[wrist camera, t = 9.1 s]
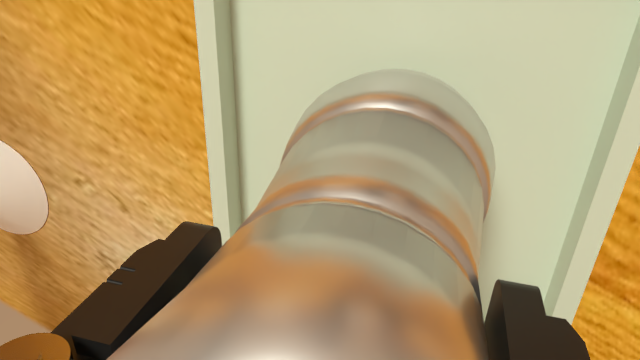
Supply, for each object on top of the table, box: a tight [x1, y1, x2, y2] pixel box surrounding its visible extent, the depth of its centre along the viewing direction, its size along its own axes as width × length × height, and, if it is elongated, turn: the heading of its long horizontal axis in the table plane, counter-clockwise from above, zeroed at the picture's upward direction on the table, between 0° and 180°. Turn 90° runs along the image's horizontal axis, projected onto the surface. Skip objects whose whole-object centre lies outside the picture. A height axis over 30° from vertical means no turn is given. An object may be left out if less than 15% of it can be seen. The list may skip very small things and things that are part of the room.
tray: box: [194, 0, 640, 325], centre depth 18 cm, size 20×16×2 cm
